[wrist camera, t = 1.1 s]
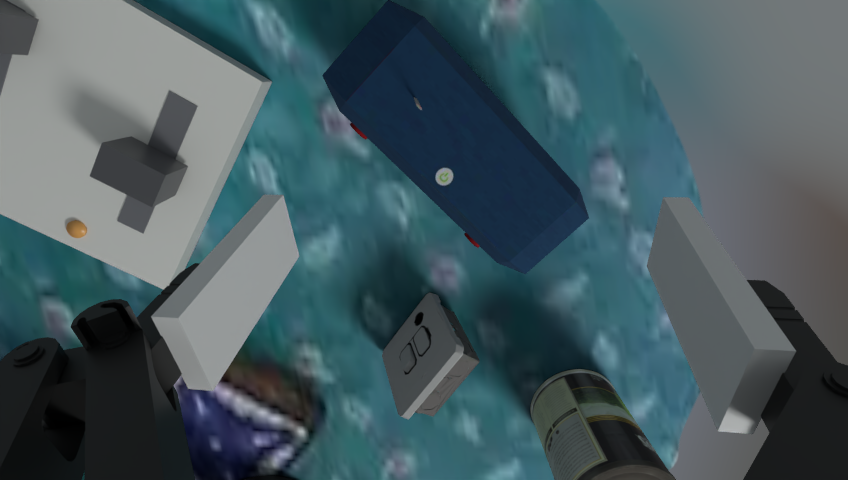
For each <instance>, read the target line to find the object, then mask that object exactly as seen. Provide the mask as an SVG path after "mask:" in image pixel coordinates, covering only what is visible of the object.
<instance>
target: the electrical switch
mask: <svg viewBox="0 0 848 480" xmlns="http://www.w3.org/2000/svg"><path fill="white" fill-rule="evenodd" d="M440 302H441V301H440V299H439V297H438V295H436V294H433V293H428V294H426V295H425V297H424V298H423V299H422V301H421V302H420V303H419V305H418V306H417V307H416V308H415V310H414V311H413V312H412V314H411V315H410V316H409V318H408V319H407V320H406V321H405V323H404V324H403V325H402V327H401V328H400V329H399V331H398V332H397V333H396V334H395V336H394V337H393V338H392V340H391V341H390V342H389V344H388V345H387V346H386V347H385V349H384V350H383V355H382V357H383V361H384V364H385V368H386V372H387V375H388V379H389V382H390V386H391V390H392V393H393V397H394V400H395V404H396V408H397V411H398V414H399V415H400V416H401V417H404V418H407V419H409V418H410V417H411V416H412V415H413V414H414V412H416V413H424V414H427V415H430V416H434V415H435V414H436V412H437V411H438V410H439V409H440V408H441V407H442V405H443V404H444V403H445V402H446V401H447V399H448V398H449V397H450V396H451V395H452V394H453V392H454V391H455V390H456V389H457V388H458V386H459V385H460V384H461V383H462V382H463V381H464V379H465V378H466V377H467V376H468V375H469V374H470V372H471V371H472V370H473V369H474V368H475V366H476V365H477V364H478V363H479V358H478V356H477V354H476V353H475V351H474V349H473V347H472V345H471V343H470V341H469V340H468V338H467V336H466V334H465V332H464V330H463V328H462V326H461V325H460V323H459V321H458V319H457V317H456V315H455V313H454V312H452V311H450V310H448V309H447V308H445V307H443V306H442V305H441V304H440ZM450 323H452V324H453V325H452V324H450ZM453 328H454V329H455V331H454V330H453ZM471 351H472V352H471ZM474 358H475V359H474ZM476 359H478V360H476ZM449 378H451V379H449ZM438 391H439V392H438ZM431 393H432V394H431ZM439 395H440V396H439Z"/></svg>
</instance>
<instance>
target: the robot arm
mask: <svg viewBox="0 0 848 480" xmlns="http://www.w3.org/2000/svg"><path fill="white" fill-rule="evenodd" d="M298 257H299V253H298V249H297V246H296V242H295V238H294V234H293V230H292V227H291V223H290V219H289V215H288V211H287V208H286V204H285V200H284V196H283V195H263V196H262V197H261V198H260V200H259V201H258V202H257V203H256V204H255V205H254V206H253V207H252V208H251V209H250V210H249V211H248V213H247V214H246V215H245V216H244V217H243V218H242V219H241V220H240V221H239V222H238V223H237V224H236V225H235V227H234V228H233V229H232V230H231V231H230V232H229V233H228V234H227V235H226V236H225V237H224V238H223V239H222V241H221V242H220V243H219V244H218V245H217V246H216V247H215V248H214V249H213V250H212V251H211V252H210V254H209V255H208V256H207V257H206V258H205V259H204V260H203V261H202V262H201V263H200V264H198V263H195V264H193V265H192V266H190V267H188V268H187V269H185V270H184V271H182V272H180V273H179V274H178V275H177V276H176V277H175V278H174V279H173V280H172V282H171V283H170V285H169V286H167V287H166V288H165V289H164V290H163V291H162V292H161V295H158V296H157V297H156V298H155V299H154V300H153V301H152V302H151V303H150V304H149V305H148V306H147V308H146V309H145V310H144V311H143V312H142V313H141V314H140V315H139V316H138V317H137V318H136V316H135V314H134V313H133V311H132V309H131V307H130V305H129V304H128V302H127V301H124V300H121V299H116V300H108V301H104V302H100V303H98V304H96V305H93V306H91V307H89V308H88V309H86V310H85V311H83V312H82V313H80V314H79V315H78V316H77V317H76V318H75V319H74V320H73V323H72V325H71V328H72V330H73V331H74V333H75V334H76V336H77V337H78V339H79V340H80V342H81V343H82V345H83V346H84V347H78V348H73V349H67V350H63V349H62V347H61V346H60V344H59V343H58V342H57V340H56V339H54V338H48V337H47V338H39V339H36V340H33V341H30V342H26V343H24V344H22V345H20V346H18V347H16V348H15V349H14V350H12V351H11V352H10V353H8V354H7V355H6V356H5V357H4V358H3V359H2V360H1V361H0V480H82V477H83V473H84V470H85V480H195V477H194V472H193V467H192V463H191V458H190V453H189V448H188V443H187V438H186V433H185V428H184V423H183V418H182V413H181V408H180V404H179V399H178V394H177V392H176V390H175V388H174V386H173V385H174V384H175V382H176V381H177V380H178V378H179V377H180V376H181V375H182V377H183V379H184V381H185V383H186V385H187V387H188V389H196V390H209V391H213V390H214V389H215V387H216V385H217V384H218V382H219V381H220V379H221V378H222V376H223V375H224V373H225V371H226V370H227V368H228V367H229V365H230V364H231V362H232V360H233V359H234V357H235V356H236V354H237V353H238V351H239V350H240V348H241V346H242V345H243V343H244V342H245V340H246V339H247V337H248V335H249V334H250V332H251V331H252V329H253V328H254V326H255V325H256V323H257V321H258V320H259V318H260V317H261V315H262V314H263V312H264V310H265V309H266V307H267V306H268V304H269V303H270V301H271V300H272V298H273V296H274V295H275V293H276V292H277V290H278V289H279V287H280V285H281V284H282V282H283V281H284V279H285V278H286V276H287V275H288V273H289V271H290V270H291V268H292V267H293V265H294V264H295V262H296V260H297V259H298ZM647 268H648V270H649V272H650V275H651V277H652V279H653V282H654V284H655V286H656V288H657V291H658V293H659V295H660V298H661V300H662V302H663V305H664V307H665V309H666V312H667V314H668V316H669V319H670V321H671V323H672V326H673V328H674V330H675V333H676V335H677V337H678V340H679V342H680V344H681V347H682V349H683V351H684V354H685V356H686V358H687V361H688V363H689V365H690V368H691V370H692V372H693V375H694V377H695V379H696V382H697V384H698V386H699V389H700V391H701V393H702V396H703V398H704V400H705V403H706V405H707V407H708V409H709V412H710V414H711V417H712V419H713V421H714V424H715V426H716V428H717V431H721V432H733V433H746V434H753V433H754V431H755V429H756V428H757V426H758V424H759V422H760V420H761V418H762V419H763V421H764V423H765V425H766V427H767V428H768V430H769V432H770V433H769V435H768V437H767V439H766V440H765V442H764V444H763V446H762V448H761V449H760V451H759V453H758V455H757V456H756V458H755V460H754V462H753V463H752V465H751V467H750V469H749V470H748V472H747V474H746V476H745V477H744V479H743V480H848V366H847V365H844V364H841V363H838V362H837V361H836V360H835V359H834V357H833V356H832V355H831V353H830V352H829V351H828V350H827V348H826V347H825V346H824V344H823V343H822V342H821V341H820V339H819V338H818V337H817V335H816V334H815V333H814V332H813V330H812V329H811V328H810V326H809V325H808V324H807V323H806V322H804V319H803V317H802V316H801V315H800V314H799V312H798V311H797V310H795V307H794V306H793V305H792V304H791V302H790V301H789V299H788V298H787V297H786V296H785V294H784V293H783V292H781V291H780V290H778V289H777V288H775V287H774V286H772V285H771V284H770V283H768V282H766V281H759V280H746V279H745V277H744V276H743V274H742V273H741V272H740V270H739V269H738V267H737V266H736V264H735V263H734V262H733V260H732V259H731V257H730V256H729V255H728V253H727V252H726V250H725V249H724V247H723V246H722V244H721V243H720V242H719V240H718V239H717V238H716V236H715V235H714V233H713V232H712V230H711V229H710V227H709V226H708V224H707V223H706V222H705V220H704V219H703V217H702V216H701V214H700V213H699V212H698V210H697V209H696V207H695V206H694V204H693V203H692V202H691V200H690V199H689V198H671V197H663V201H662V205H661V209H660V213H659V217H658V222H657V226H656V230H655V234H654V238H653V243H652V247H651V251H650V255H649V259H648V264H647ZM243 480H293V479H289V478H285V477H280V476H256V477H250V478H246V479H243Z"/></svg>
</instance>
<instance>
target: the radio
mask: <svg viewBox="0 0 848 480" xmlns="http://www.w3.org/2000/svg"><path fill="white" fill-rule="evenodd" d="M322 76H323V78H324V80H325V82H326V84H327V86H328V88H329V90H330V92H331V94H332V96H333V98H334V100H335V102H336V105H337V107H338V109H339V111H340V112H341V113H342V114H343V115H344V116H346V117H347V118H348V119H349V120H350V121H351V122H352V123H351V124H350V125H351V127H352V128H353V129H354V130H355V131H356V132H357V133H358V134H359V135H360V136H361V137H363V138H364V139H367V138H368V139H369V140H370V141H371V142H372V143H374V144H375V145H376V146H377V147H378V148H379V149H380V150H381V151H382V152H383V153H384V154H385V155H386V156H387V157H388V158H389V159H390V160H391V161H392V162H393V163H394V164H395V165H396V166H397V167H398V168H399V169H400V170H401V171H403V172H404V173H405V174H406V175H407V176H408V177H409V178H410V179H411V180H412V181H413V182H414V183H415V184H416V185H417V186H418V187H419V188H420V189H421V190H422V191H423V192H424V193H425V194H426V195H427V196H428V197H429V198H431V199H432V200H433V201H434V202H435V203H436V204H437V205H438V206H439V207H440V208H441V209H442V210H443V211H444V212H445V213H446V214H447V215H448V216H449V217H450V218H451V219H452V220H453V221H454V222H455V223H456V224H457V225H458V226H460V227H461V228H462V229H463V230H464V231H465V232H466V233H465V236H466V237H467V238H468V240H469V241H470V242H471V243H472V244H473V245H474V246H476V247H477V248H478V247H479V246H480V247H481V248H482V249H483V250H484V251H485V252H486V253H488V254H489V255H490V256H491V257H492V258H493V259H494V260H495V261H496V262H497V263H499V264H502V265H504V266H507V267H509V268H512V269H514V270H517V271H519V272H522V273H524V274H526V273H527V272H528V271H529V270H530V269H532V268H533V267H534V266H535V265H536V264H537V263H538V262H540V261H541V260H542V259H543V258H544V257H545V256H546V255H548V254H549V253H550V252H551V251H552V250H553V249H554V248H555V247H557V246H558V245H559V244H560V243H561V242H562V241H563V240H565V239H566V238H567V237H568V236H569V235H570V234H571V233H573V232H574V231H575V230H576V229H577V228H578V227H579V226H580V225H582V224H583V223H584V222H585V221H586V220H587V219H588V218H589V217H588V214H587V210H586V207H585V204H584V201H583V198H582V195H581V192H580V189H579V188H578V187H577V185H576V184H575V183H574V182H573V181H572V180H571V179H570V178H569V177H568V175H567V174H566V173H565V172H564V171H563V170H562V169H561V168H560V167H559V166H558V164H557V163H556V162H555V161H554V160H553V159H552V158H551V157H550V156H549V154H548V153H547V152H546V151H545V150H544V149H543V148H542V147H541V146H540V145H539V143H538V142H537V141H536V140H535V139H534V138H533V137H532V136H531V135H530V133H529V132H528V131H527V130H526V129H525V128H524V127H523V126H522V125H521V124H520V122H519V121H518V120H517V119H516V118H515V117H514V116H513V115H512V114H511V112H510V111H509V110H508V109H507V108H506V107H505V106H504V105H503V104H502V103H501V101H500V100H499V99H498V98H497V97H496V96H495V95H494V94H493V93H492V92H491V90H490V89H489V88H488V87H487V86H486V85H485V84H484V83H483V82H482V80H481V79H480V78H479V77H478V76H477V75H476V74H475V73H474V72H473V71H472V69H471V68H470V67H469V66H468V65H467V64H466V63H465V62H464V61H463V59H462V58H461V57H460V56H459V55H458V54H457V53H456V52H455V51H454V50H453V48H452V47H451V46H450V45H449V44H448V43H447V42H446V41H445V40H444V38H443V37H442V36H441V35H440V34H439V33H438V32H437V31H436V30H435V29H434V27H433V26H432V25H431V24H430V23H429V22H428V21H427V20H426V19H425V17H423V16H421V15H419V14H417V13H415V12H412V11H410V10H408V9H406V8H404V7H402V6H400V5H398V4H396V3H394V2H392V1H390V0H388V1H387V2H386V3H385V4H384V5H383V7H382V8H381V9H380V10H379V11H378V12H377V13H376V15H375V16H374V17H373V18H372V19H371V20H370V21H369V23H368V24H367V25H366V26H365V27H364V28H363V29H362V31H361V32H360V33H359V34H358V35H357V36H356V37H355V39H354V40H353V41H352V42H351V43H350V44H349V45H348V47H347V48H346V49H345V50H344V51H343V52H342V53H341V55H340V56H339V57H338V58H337V59H336V60H335V61H334V63H333V64H332V65H331V66H330V67H329V68H328V69H327V71H326V72H325V73H324V74H323V75H322Z"/></svg>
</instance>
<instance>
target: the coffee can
mask: <svg viewBox="0 0 848 480" xmlns="http://www.w3.org/2000/svg"><path fill="white" fill-rule="evenodd" d="M530 410H531V417H532V421H533V423H534V425H535V427H536V429H537V432H538V435H539V438H540V440H541V443H542V446H543V449H544V451H545V454H546V457H547V460H548V462H549V465H550V468H551V471H552V473H553V476H554V479H555V480H676V479H675V478H674V476H673V475H672V474H671V473H670V472H669V471H668V469H667V468H666V467H665V465H664V463H663V462H662V460H661V459H660V457H659V456H658V454H657V453H656V451H655V450H654V448H653V447H652V445H651V444H650V442H649V441H648V439H647V438H646V436H645V435H644V433H643V432H642V430H641V429H640V427H639V426H638V424H637V423H636V421H635V420H634V418H633V417H632V415H631V414H630V412H629V411H628V409H627V408H626V406H625V405H624V403H623V402H622V400H621V399H620V397H619V396H618V394H617V393H616V391H615V389H614V387H613V385H612V384H611V383H610V381H609V380H608V379H606V378H605V377H604V376H602V375H601V374H599V373H597V372H594V371H591V370H585V369H573V370H567V371H564V372H560V373H558V374H556V375H554V376H552V377H550V378H549V379H547V380H546V381H545V382H544V383H543V384H542V385H541V386H540V387H539V388H538V389H537V391H536V392H535V394H534V396H533V399H532V402H531V408H530Z"/></svg>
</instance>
